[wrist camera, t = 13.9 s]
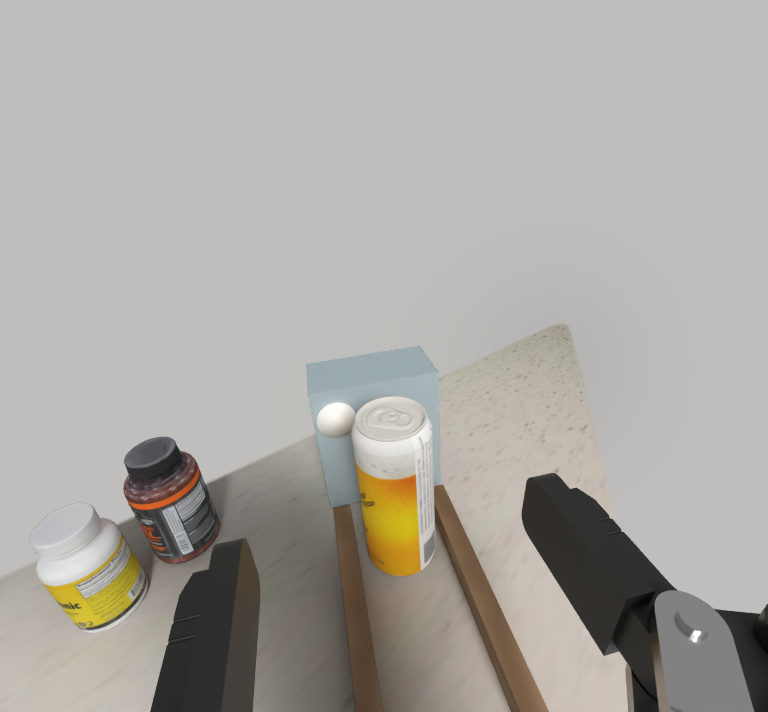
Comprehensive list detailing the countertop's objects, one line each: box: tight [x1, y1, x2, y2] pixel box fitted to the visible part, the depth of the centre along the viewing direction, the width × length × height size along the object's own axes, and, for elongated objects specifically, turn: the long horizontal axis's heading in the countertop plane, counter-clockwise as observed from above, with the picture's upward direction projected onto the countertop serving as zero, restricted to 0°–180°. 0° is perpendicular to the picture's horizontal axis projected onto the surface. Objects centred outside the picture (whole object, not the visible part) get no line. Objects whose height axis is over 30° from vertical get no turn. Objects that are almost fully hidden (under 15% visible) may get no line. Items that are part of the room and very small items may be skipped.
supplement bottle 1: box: [29, 503, 148, 633], centre depth 31 cm, size 5×5×10 cm
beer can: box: [351, 396, 435, 576], centre depth 32 cm, size 6×6×15 cm
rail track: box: [333, 485, 549, 712], centre depth 31 cm, size 11×19×2 cm, turn 12°
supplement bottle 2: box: [123, 437, 219, 564], centre depth 36 cm, size 6×6×11 cm
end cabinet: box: [306, 346, 440, 508], centre depth 41 cm, size 12×6×14 cm, turn 102°
